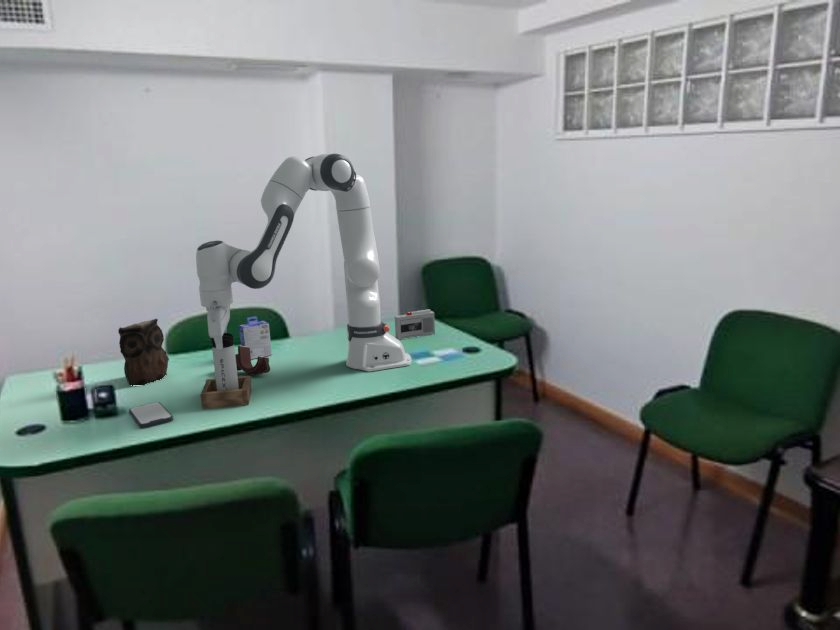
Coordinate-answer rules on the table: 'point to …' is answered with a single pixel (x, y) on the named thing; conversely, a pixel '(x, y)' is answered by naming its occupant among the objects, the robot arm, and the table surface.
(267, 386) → the table surface
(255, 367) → the bracket
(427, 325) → the cassette player
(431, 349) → the table surface
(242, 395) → the wooden caddy
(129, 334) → the owl
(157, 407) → the phone case
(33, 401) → the table surface
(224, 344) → the travel mug
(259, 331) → the ink cartridge box
